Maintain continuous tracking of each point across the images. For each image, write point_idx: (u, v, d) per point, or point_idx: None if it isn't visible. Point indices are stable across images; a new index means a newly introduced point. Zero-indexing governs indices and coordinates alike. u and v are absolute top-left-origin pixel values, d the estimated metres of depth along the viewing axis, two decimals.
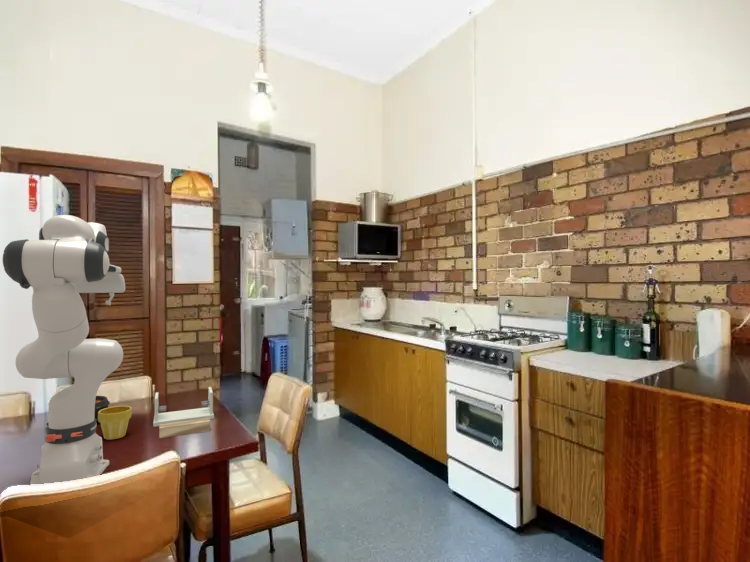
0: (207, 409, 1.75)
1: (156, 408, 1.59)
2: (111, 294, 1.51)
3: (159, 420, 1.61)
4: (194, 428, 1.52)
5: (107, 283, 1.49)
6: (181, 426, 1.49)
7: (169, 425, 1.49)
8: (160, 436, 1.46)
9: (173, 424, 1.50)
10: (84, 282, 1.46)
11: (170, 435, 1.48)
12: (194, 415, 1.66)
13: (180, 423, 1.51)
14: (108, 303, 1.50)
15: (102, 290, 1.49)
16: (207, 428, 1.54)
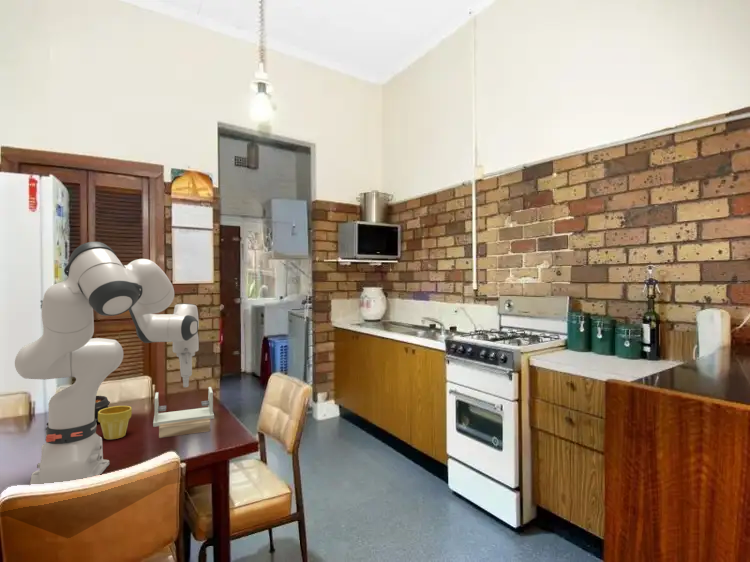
0: (207, 409, 1.75)
1: (156, 408, 1.59)
2: None
3: (159, 420, 1.61)
4: (194, 428, 1.51)
5: None
6: (180, 426, 1.50)
7: (169, 425, 1.49)
8: (160, 436, 1.47)
9: (173, 424, 1.50)
10: None
11: (170, 435, 1.48)
12: (194, 415, 1.66)
13: (180, 423, 1.51)
14: None
15: None
16: (207, 429, 1.53)
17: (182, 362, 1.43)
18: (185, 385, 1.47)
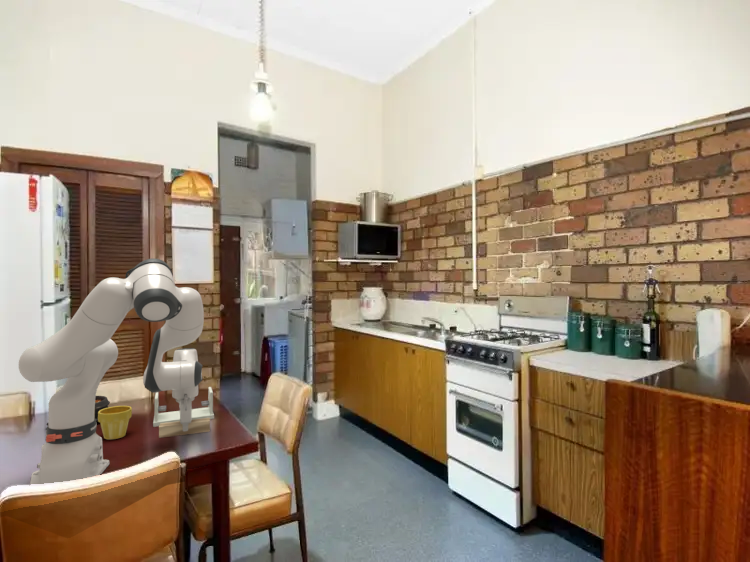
0: (207, 409, 1.75)
1: (156, 408, 1.59)
2: None
3: (159, 420, 1.61)
4: (194, 428, 1.51)
5: None
6: (180, 426, 1.50)
7: (169, 424, 1.49)
8: (160, 435, 1.47)
9: (173, 423, 1.50)
10: None
11: (170, 434, 1.48)
12: (194, 415, 1.66)
13: None
14: None
15: None
16: (206, 428, 1.53)
17: (182, 409, 1.43)
18: (185, 429, 1.49)
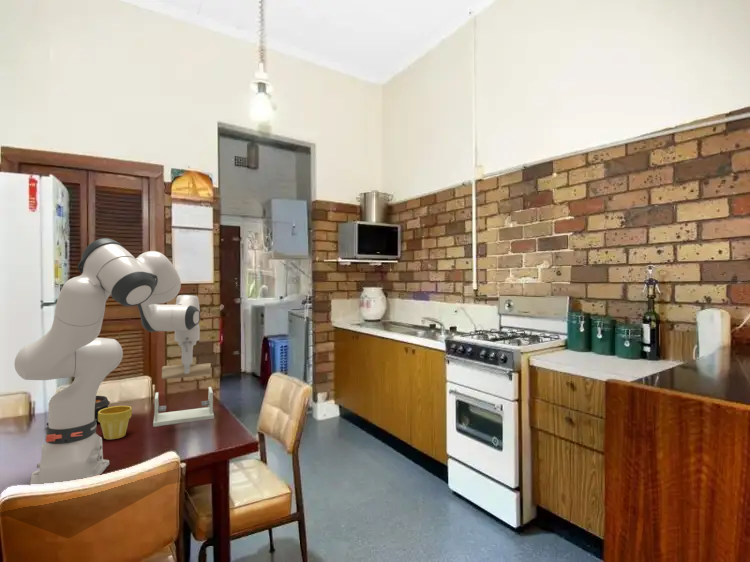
0: (207, 409, 1.75)
1: (156, 408, 1.59)
2: None
3: (159, 420, 1.61)
4: (195, 371, 1.57)
5: None
6: (182, 368, 1.56)
7: (171, 367, 1.55)
8: (162, 376, 1.53)
9: (175, 366, 1.56)
10: None
11: (172, 376, 1.54)
12: (194, 415, 1.66)
13: (182, 366, 1.57)
14: None
15: None
16: (207, 372, 1.59)
17: (183, 350, 1.49)
18: (186, 372, 1.55)
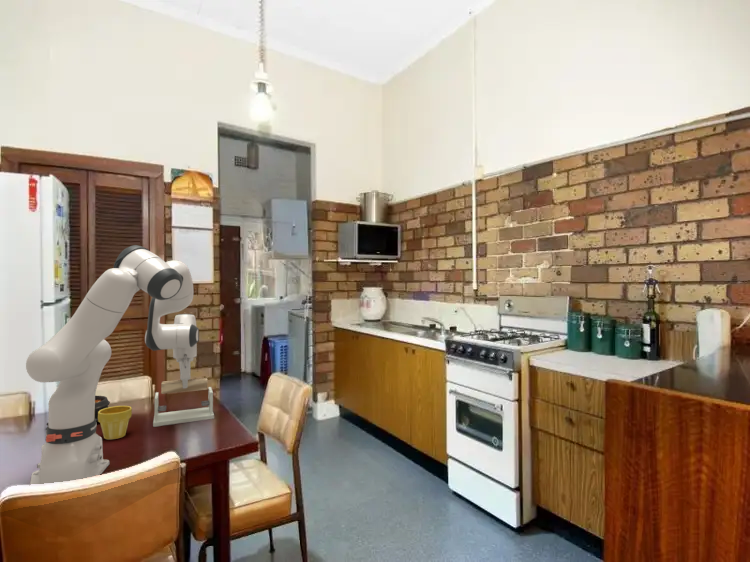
0: (207, 409, 1.75)
1: (156, 408, 1.59)
2: None
3: (159, 420, 1.61)
4: (193, 385, 1.67)
5: None
6: (181, 383, 1.66)
7: (170, 382, 1.65)
8: (162, 391, 1.63)
9: (174, 381, 1.66)
10: None
11: (171, 391, 1.64)
12: (194, 415, 1.66)
13: (180, 381, 1.67)
14: None
15: None
16: (204, 386, 1.69)
17: (182, 367, 1.59)
18: (184, 386, 1.65)
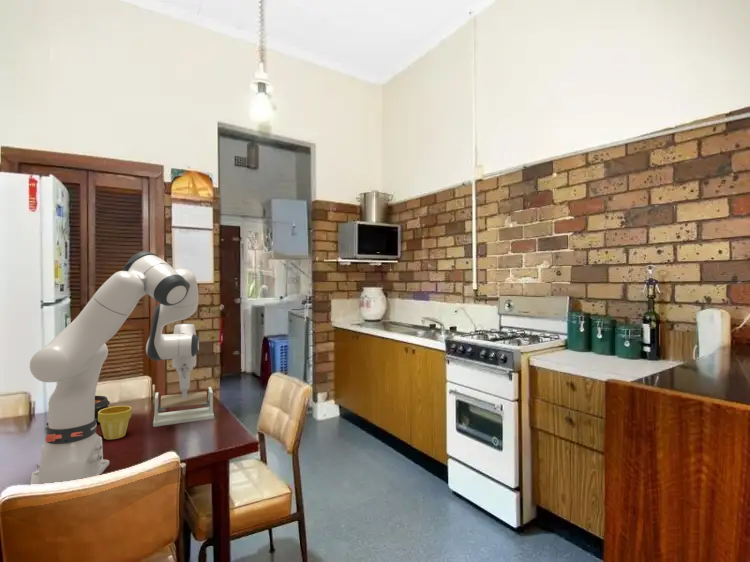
0: (207, 409, 1.75)
1: (156, 408, 1.59)
2: None
3: (159, 420, 1.61)
4: (192, 399, 1.67)
5: None
6: (180, 397, 1.66)
7: (169, 396, 1.65)
8: (161, 405, 1.63)
9: (173, 395, 1.66)
10: None
11: (170, 405, 1.64)
12: (194, 415, 1.66)
13: (180, 395, 1.67)
14: None
15: None
16: (204, 400, 1.69)
17: (181, 377, 1.59)
18: (184, 397, 1.63)
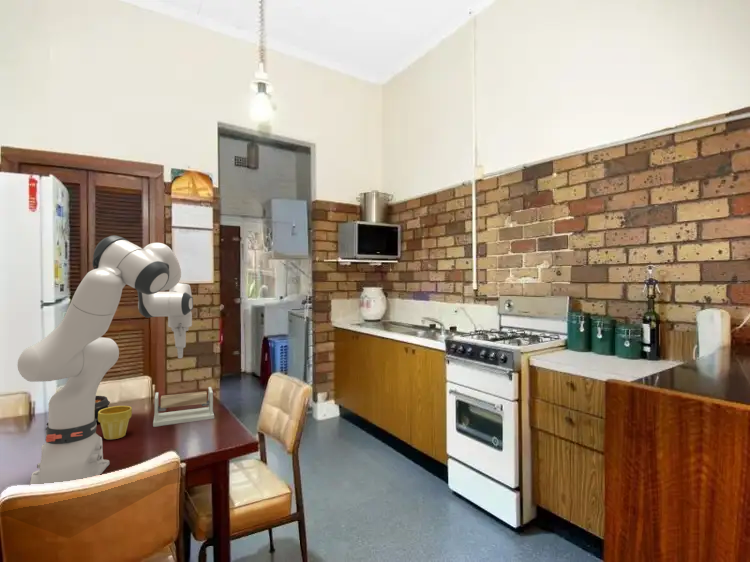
0: (207, 409, 1.75)
1: (156, 408, 1.59)
2: None
3: (159, 420, 1.61)
4: (192, 399, 1.67)
5: None
6: (180, 397, 1.66)
7: (169, 396, 1.65)
8: (161, 405, 1.63)
9: (173, 395, 1.66)
10: None
11: (170, 405, 1.64)
12: (194, 415, 1.66)
13: (180, 395, 1.67)
14: None
15: None
16: (204, 400, 1.69)
17: (177, 335, 1.58)
18: (179, 356, 1.62)
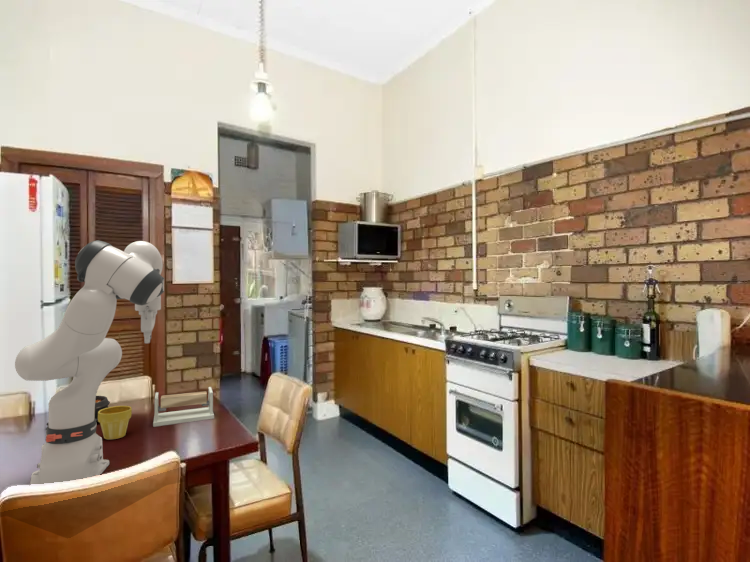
0: (207, 409, 1.75)
1: (156, 408, 1.59)
2: None
3: (159, 420, 1.61)
4: (192, 399, 1.67)
5: None
6: (180, 397, 1.66)
7: (169, 396, 1.65)
8: (161, 405, 1.63)
9: (173, 395, 1.66)
10: (152, 320, 1.57)
11: (170, 405, 1.64)
12: (194, 415, 1.66)
13: (180, 395, 1.67)
14: None
15: (153, 326, 1.61)
16: (204, 400, 1.69)
17: (142, 318, 1.49)
18: (146, 341, 1.53)
